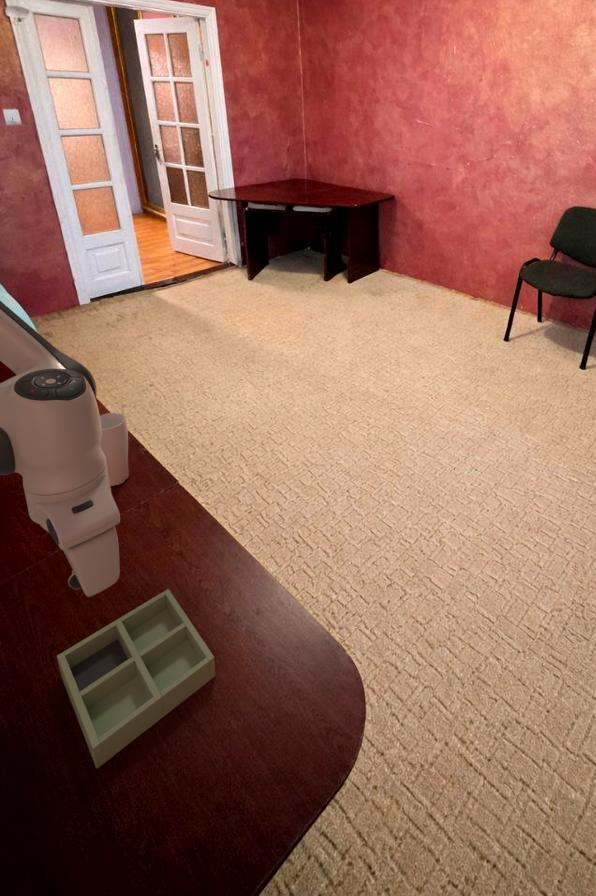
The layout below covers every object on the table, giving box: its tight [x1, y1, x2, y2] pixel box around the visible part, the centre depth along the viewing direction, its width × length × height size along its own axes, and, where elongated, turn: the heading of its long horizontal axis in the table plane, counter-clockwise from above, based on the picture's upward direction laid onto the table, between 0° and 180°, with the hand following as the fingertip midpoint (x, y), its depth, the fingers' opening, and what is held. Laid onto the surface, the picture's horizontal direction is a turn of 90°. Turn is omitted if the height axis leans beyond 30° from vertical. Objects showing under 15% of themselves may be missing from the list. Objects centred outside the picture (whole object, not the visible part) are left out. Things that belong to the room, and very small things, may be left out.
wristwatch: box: [67, 569, 82, 590], centre depth 66 cm, size 3×5×5 cm, turn 26°
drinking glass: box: [100, 412, 130, 487], centre depth 105 cm, size 7×7×15 cm
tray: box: [56, 588, 217, 769], centre depth 69 cm, size 15×15×4 cm
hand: (83, 572), depth 66 cm, fingers closed on wristwatch, 5 cm apart
